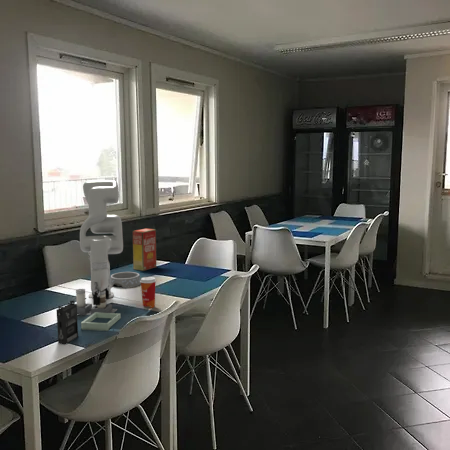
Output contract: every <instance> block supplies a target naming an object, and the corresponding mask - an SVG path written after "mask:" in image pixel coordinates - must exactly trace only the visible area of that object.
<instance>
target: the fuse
mask: <svg viewBox="0 0 450 450" xmlns="http://www.w3.org/2000/svg"><path fill="white" fill-rule="evenodd" d="M75 296H76V304H77V307H83V308H84V307H86V303H87V302H86V301H87V300H86V289H85V288H78V289H75Z"/></svg>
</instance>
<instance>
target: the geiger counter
mask: <svg viewBox="0 0 450 450" xmlns="http://www.w3.org/2000/svg"><path fill="white" fill-rule="evenodd" d="M69 302H70V303H68V304H66V305H64V306H59V305H58V307H57V308H58V309H56V324H57V342H58V343H57V344H58V345H64V346H65V345H68V344H69V343H72V342H73V341H74V340H76V339H78V338H79V326H78V323H79V321H78V314H77V303H75V300H70V301H69Z"/></svg>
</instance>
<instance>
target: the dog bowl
mask: <svg viewBox="0 0 450 450" xmlns="http://www.w3.org/2000/svg"><path fill="white" fill-rule="evenodd" d="M140 281H141V275H140V273H138V272H136V271H135V272H134V271H121V272H116V273H112V274H110V285H112V288H113V287H114V286H118V287H122V288H123V289H124V288H125V289H127V288H134V287H138V286H141V282H140Z"/></svg>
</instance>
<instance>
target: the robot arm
mask: <svg viewBox="0 0 450 450" xmlns="http://www.w3.org/2000/svg"><path fill="white" fill-rule="evenodd" d="M82 191H83V195H84V198H85V200H86V202H87V205H88V217H87V218H86V219H85V220H84V222H83V223H82V224H81V226H80V229H79V246H80V247H79V249H80V250H81V251H82V252H83V253H89V262H90V290H91V293H89V295H88V298H89V299H92V306H95V305H100V296H99V295H100V292H101V291H103V290H105V291H106V300H109V299H110V298H113V297H114V295H115V293H114V292H113V291H112V290H111V289H112V288H113V287H112V285H110V277H111V270H110V269H111V267H110V265H111V264H110V261H109V255H118V254H121V253H122V252H123V250H124V238H123V237H124V236H123V235H124V234H123V223H122V222H123V221H122V219H121V217H120V216H119V215H118V214H108V210H107V209H108V207H107V205H110V204H115V205H116V204H117V203H118V202H119V199H120V189H119V184H118V182H117V181H116V180H111V179H110V180H109V179H106V180H99V179H97V180H94V179H93V180H87V181H85V182H84V183H83V184H82ZM89 229H90V231H91V232H92V233H93V234H94V235H87V234H86V233H87V231H88V230H89ZM95 234H98V235H95ZM99 234H100V235H99ZM103 234H112V235H103ZM97 292H98V294H97Z"/></svg>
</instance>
